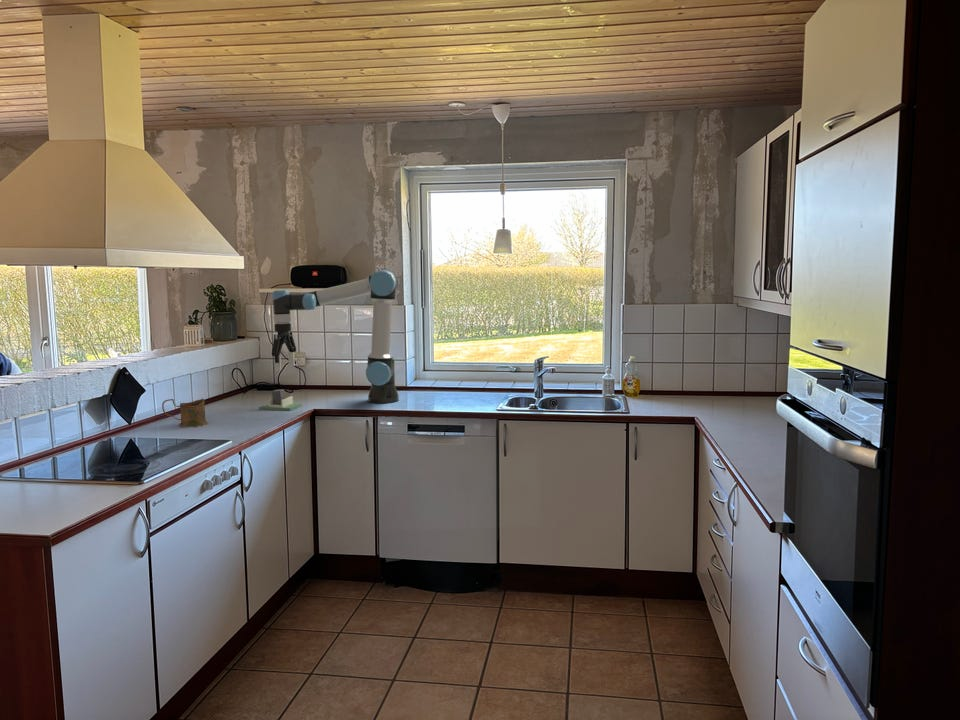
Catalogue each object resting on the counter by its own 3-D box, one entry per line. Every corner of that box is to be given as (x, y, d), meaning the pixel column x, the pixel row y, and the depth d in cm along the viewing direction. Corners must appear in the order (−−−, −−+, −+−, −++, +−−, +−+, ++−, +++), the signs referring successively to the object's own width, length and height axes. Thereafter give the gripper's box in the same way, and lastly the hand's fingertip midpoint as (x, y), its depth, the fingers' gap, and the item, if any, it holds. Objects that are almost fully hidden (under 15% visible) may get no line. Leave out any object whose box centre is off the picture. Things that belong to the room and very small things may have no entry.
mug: (160, 426, 302) (159, 398, 300) (203, 420, 312) (202, 393, 311) (167, 431, 293) (165, 402, 291) (211, 425, 303) (209, 397, 301)
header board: (302, 405, 343) (301, 396, 343) (290, 410, 332) (289, 400, 331) (272, 404, 347) (271, 395, 346) (259, 409, 335) (258, 399, 335)
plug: (286, 403, 341) (284, 389, 340) (281, 405, 337) (279, 390, 336) (278, 404, 342) (276, 389, 341) (273, 405, 338) (271, 391, 337)
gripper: (287, 320, 349) (290, 363, 352) (261, 325, 325) (264, 371, 327) (301, 320, 347) (304, 364, 350) (277, 325, 323) (279, 371, 326)
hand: (285, 367), depth 339 cm, fingers open, 13 cm apart
